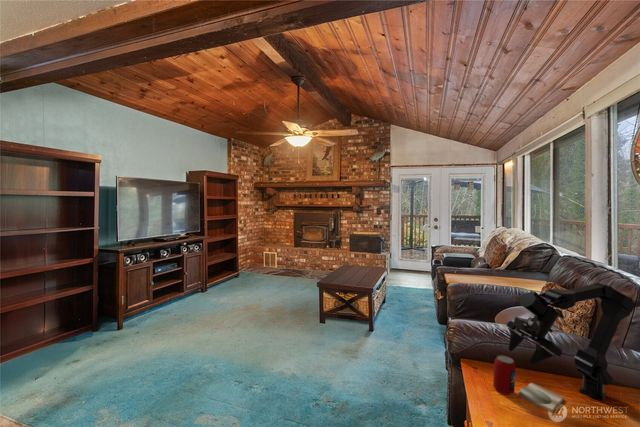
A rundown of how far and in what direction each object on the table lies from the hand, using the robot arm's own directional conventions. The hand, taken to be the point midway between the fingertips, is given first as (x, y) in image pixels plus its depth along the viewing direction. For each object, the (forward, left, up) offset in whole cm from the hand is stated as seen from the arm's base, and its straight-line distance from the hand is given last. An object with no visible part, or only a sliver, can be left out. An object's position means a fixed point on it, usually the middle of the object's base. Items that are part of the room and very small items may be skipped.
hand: (519, 357), depth 105 cm
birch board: (-7, +5, -15) cm, 17 cm away
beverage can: (0, -5, -15) cm, 16 cm away
